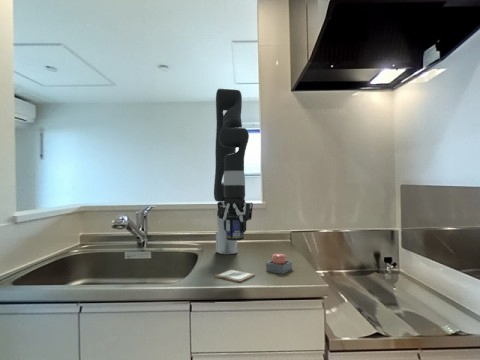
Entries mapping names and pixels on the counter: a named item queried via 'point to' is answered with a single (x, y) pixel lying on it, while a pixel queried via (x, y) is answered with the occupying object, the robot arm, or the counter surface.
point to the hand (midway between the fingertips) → (234, 231)
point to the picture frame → (235, 275)
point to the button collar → (279, 267)
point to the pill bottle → (233, 226)
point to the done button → (279, 259)
